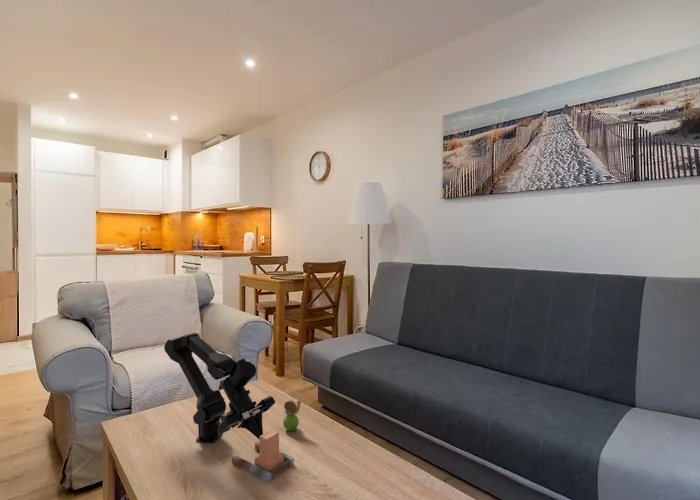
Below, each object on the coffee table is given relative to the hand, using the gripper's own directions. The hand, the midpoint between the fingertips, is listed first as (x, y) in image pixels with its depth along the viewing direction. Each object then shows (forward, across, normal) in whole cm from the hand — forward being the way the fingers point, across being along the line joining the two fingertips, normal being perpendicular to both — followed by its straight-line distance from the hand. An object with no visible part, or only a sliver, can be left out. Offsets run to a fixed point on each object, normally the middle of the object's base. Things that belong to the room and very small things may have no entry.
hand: (261, 438), depth 121 cm
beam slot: (+6, 0, -5) cm, 8 cm away
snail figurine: (+1, -20, -10) cm, 22 cm away
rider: (+8, 0, -3) cm, 8 cm away
